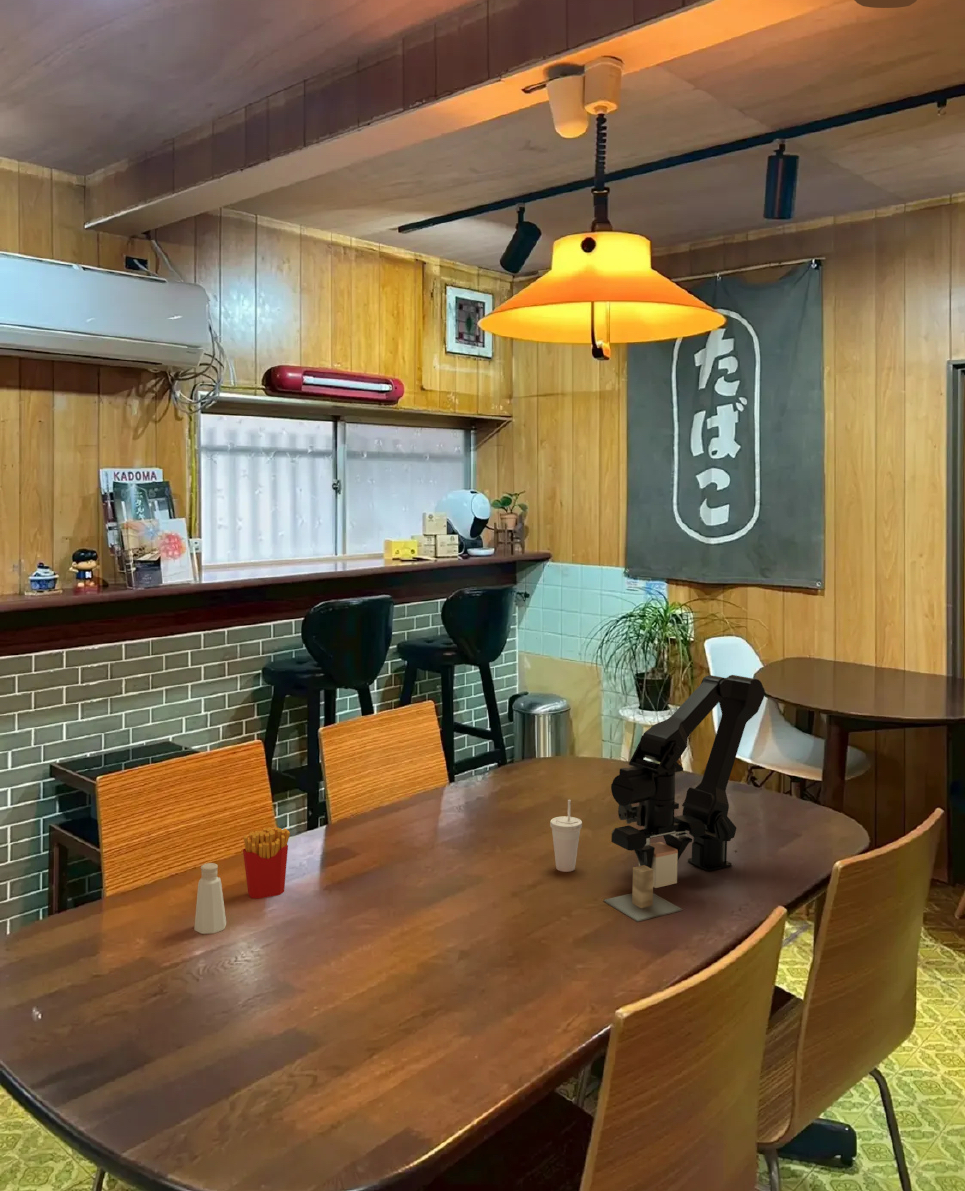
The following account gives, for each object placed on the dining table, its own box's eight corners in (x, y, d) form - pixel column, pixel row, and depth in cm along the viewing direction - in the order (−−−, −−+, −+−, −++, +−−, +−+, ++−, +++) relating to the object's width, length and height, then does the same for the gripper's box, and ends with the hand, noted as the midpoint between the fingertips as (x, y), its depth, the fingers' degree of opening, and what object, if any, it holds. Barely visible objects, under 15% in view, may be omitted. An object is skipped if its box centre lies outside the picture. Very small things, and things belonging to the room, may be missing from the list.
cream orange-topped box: (659, 874, 195) (660, 841, 194) (676, 883, 190) (677, 849, 190) (638, 878, 192) (639, 845, 192) (655, 888, 188) (656, 854, 187)
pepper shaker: (197, 936, 166) (196, 873, 165) (191, 924, 171) (189, 862, 170) (230, 930, 168) (228, 867, 167) (222, 918, 173) (221, 857, 172)
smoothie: (579, 875, 194) (580, 805, 193) (547, 872, 195) (548, 803, 194) (583, 863, 200) (584, 796, 199) (551, 861, 201) (552, 794, 200)
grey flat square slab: (646, 891, 186) (647, 855, 186) (681, 910, 178) (682, 872, 177) (603, 901, 181) (604, 864, 181) (637, 921, 173) (638, 882, 172)
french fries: (247, 900, 181) (246, 837, 180) (242, 893, 184) (240, 830, 183) (292, 892, 185) (291, 830, 184) (286, 885, 188) (285, 823, 187)
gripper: (670, 779, 201) (668, 853, 203) (595, 791, 192) (593, 869, 194) (707, 793, 192) (705, 871, 193) (630, 807, 183) (628, 889, 184)
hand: (657, 874), depth 191 cm, fingers closed on cream orange-topped box, 5 cm apart
